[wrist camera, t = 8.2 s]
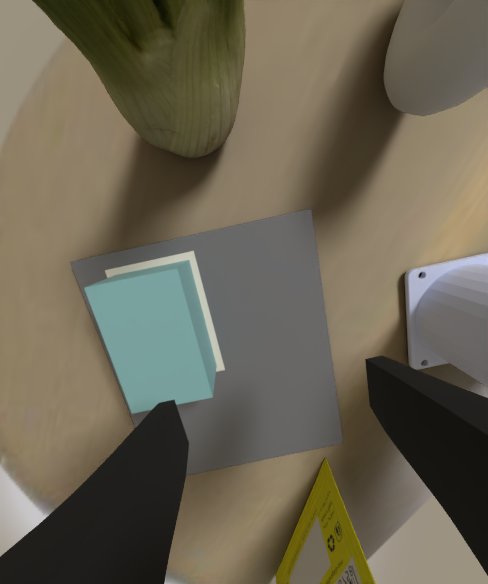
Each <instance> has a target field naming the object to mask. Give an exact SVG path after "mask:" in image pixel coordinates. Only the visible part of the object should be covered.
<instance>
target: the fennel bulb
mask: <svg viewBox="0 0 488 584" xmlns="http://www.w3.org/2000/svg"><path fill="white" fill-rule="evenodd" d="M32 1H33V2H35V3H36V4H37V5H38V6H39V7H40V8H41V9H42V10H43V11H44V12H45V13H46V15H47V16H48V17H49V18H50V19H51V21H52V22H53V23H54V24H55V25H56V26H57V28H59V29H60V30H61V31H62V32H63V33H64V34H65V35H66V36H67V37H68V38H69V39H70V40H71V41H72V42H73V43H74V44H75V45H76V47H77V48H78V49H79V50H80V51H81V52H82V54H83V55H84V56H85V57H86V58H87V60H88V61H89V62H90V64H91V65H92V67H93V68H94V70H95V71H96V73H97V74H98V76H99V78H100V80H101V82H102V83H103V84H104V86H105V88H106V90H107V92H108V94H109V95H110V97H111V99H112V101H113V102H114V104H115V105H116V107H117V108H118V110H119V111H120V113H121V114H122V115H123V117H124V118H125V119H126V120H127V122H128V123H129V124H130V125H131V126H132V127H133V128H134V129H135V130H136V132H137V133H138V134H139V135H140V136H141V137H142V138H144V139H145V140H146V141H147V142H148V143H150V144H151V145H154V146H156V147H159V148H162V149H165V150H168V151H171V152H173V153H175V154H177V155H180V156H183V157H187V158H198V157H202V156H206V155H208V154H210V153H211V152H213V151H214V150H216V149H217V148H218V147H220V146H221V145H222V144H223V142H224V141H225V140H226V139H227V137H228V135H229V134H230V132H231V130H232V128H233V125H234V121H235V117H236V112H237V108H238V103H239V95H240V88H241V80H242V72H243V65H244V54H245V37H246V25H245V10H244V0H32Z"/></svg>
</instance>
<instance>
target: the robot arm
mask: <svg viewBox="0 0 488 584" xmlns="http://www.w3.org/2000/svg"><path fill="white" fill-rule="evenodd" d="M420 272H421V273H422V275H421V277H418V275H419V273H420ZM405 295H406V316H407V337H408V358H409V366H410V367H409V366H406V365H404V364H401V363H399V362H397V361H394V360H392V359H389V358H387V357H384V356H379V357H374V358H369V359H366V370H367V380H368V390H369V401H370V407H371V408H372V410H373V412H374V414H375V415H376V417H377V419H378V420H379V422H380V424H381V425H382V427H383V429H384V430H385V432H386V433H387V435H388V436H389V437H390V439H391V440H392V441H393V443H394V444H395V445H396V447H397V448H398V449H399V451H400V452H401V453H402V455H403V456H404V457H405V459H406V460H407V461H408V462H409V464H410V465H411V466H412V468H413V469H414V470H415V472H416V473H417V474H418V476H419V477H420V478H421V479H422V481H423V482H424V483H425V485H426V486H427V487H428V489H429V490H430V491H431V493H432V494H433V495H434V496H435V498H436V499H437V500H438V502H439V503H440V504H441V506H442V507H443V509H444V510H445V511H446V513H447V514H448V516H449V517H450V518H451V520H452V521H453V523H454V524H455V526H456V527H457V529H458V530H459V532H460V533H461V535H462V537H463V538H464V540H465V541H466V543H467V544H468V546H469V547H470V549H471V550H472V552H473V553H474V555H475V556H476V558H477V559H478V561H479V563H480V564H481V566H482V567H483V569H484V570H485V572H486V574H487V575H488V398H486V397H483V396H481V395H478V394H475V393H473V392H470V391H467V390H465V389H462V388H459V387H457V386H454V385H452V384H449V383H447V382H444V381H442V380H439V379H437V378H435V377H432V376H430V375H427V374H425V373H423V372H420V371H418V370H419V369H424V368H428V367H433V366H438V365H443V364H448V363H450V364H452V365H453V366H455V367H457V368H458V369H460V370H461V371H463V372H465V373H466V374H468V375H469V376H471V377H472V378H474V379H476V380H477V381H479V382H480V383H482V384H483V385H485V386H487V387H488V253H484V254H479V255H475V256H470V257H465V258H461V259H456V260H452V261H447V262H442V263H438V264H433V265H428V266H424V267H419V268H414V269H411V270H408V271H407V272H406V274H405ZM423 360H424V362H423V363H422V361H423ZM411 367H412V368H411ZM188 451H189V441H188V438H187V435H186V432H185V429H184V426H183V423H182V420H181V417H180V414H179V411H178V408H177V405H176V402H175V400H170V401H165V402H160V403H158V404H157V405H156V406H155V407H154V408H153V409H152V410H151V411H150V412H149V413H148V415H147V416H146V417H145V418H144V419H143V420H142V421H141V422H140V424H139V425H138V426H137V427H136V428H135V429H134V430H133V431H132V432H131V434H130V435H129V436H128V437H127V438H126V439H125V440H124V441H123V442H122V444H121V445H120V446H119V447H118V448H117V449H116V450H115V451H114V452H113V453H112V454H111V455H110V456H109V457H108V458H107V459H106V461H105V462H104V463H103V464H102V465H101V466H100V467H99V468H98V469H97V470H96V471H95V472H94V473H93V474H92V475H91V476H90V477H89V478H88V479H87V480H86V481H85V482H84V483H83V484H82V485H81V486H80V487H79V488H78V489H77V490H76V491H75V492H74V493H73V494H72V495H71V496H70V497H69V498H67V499H66V500H65V501H64V502H63V503H62V504H61V505H60V506H59V507H58V508H57V509H55V510H54V511H53V512H52V513H51V514H50V515H49V516H48V517H47V518H46V519H45V520H43V521H42V522H41V523H40V524H39V525H38V526H36V527H35V528H34V529H33V530H32V531H30V532H29V533H28V534H27V535H26V536H24V537H23V538H22V539H21V540H20V541H18V543H16V544H15V545H14V546H13V547H11V548H10V549H9V550H8V551H7V552H5V553H4V554H3V555H2V556H1V557H0V584H164V581H165V575H166V569H167V564H168V558H169V553H170V548H171V544H172V539H173V534H174V530H175V525H176V520H177V516H178V511H179V506H180V502H181V497H182V492H183V487H184V483H185V478H186V471H187V462H188Z"/></svg>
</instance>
